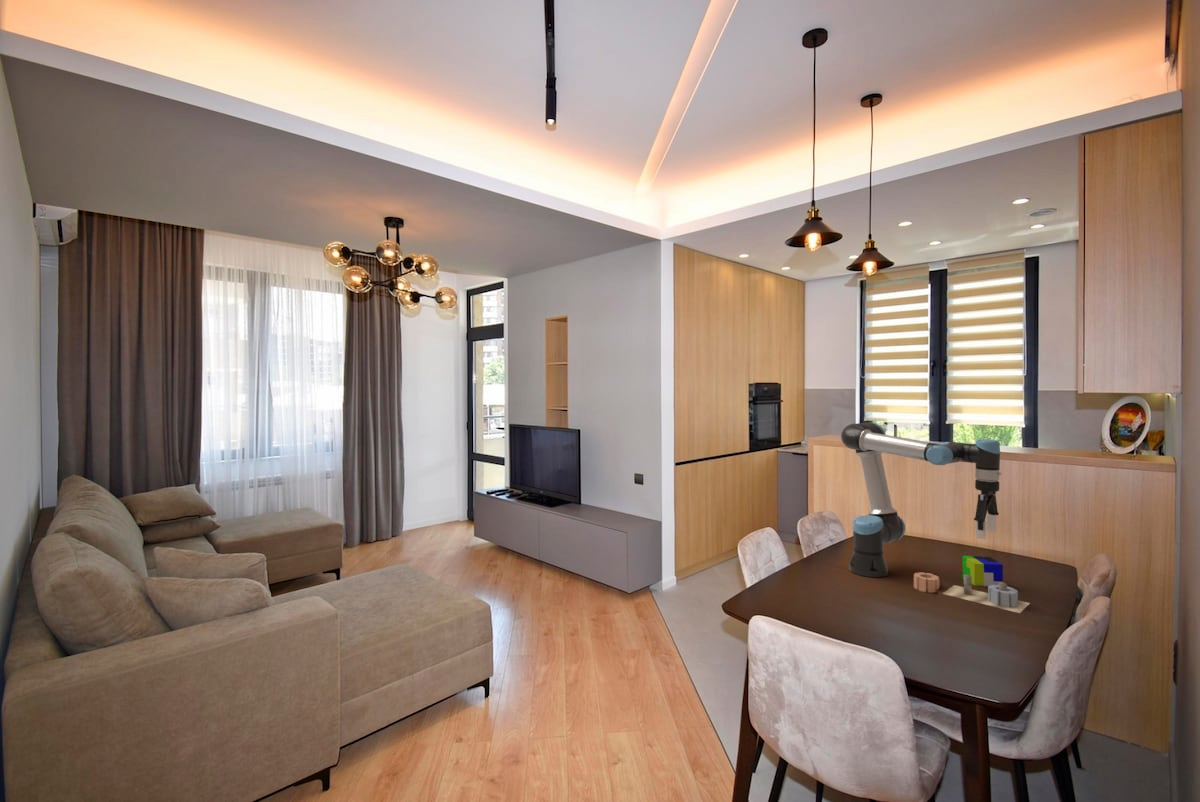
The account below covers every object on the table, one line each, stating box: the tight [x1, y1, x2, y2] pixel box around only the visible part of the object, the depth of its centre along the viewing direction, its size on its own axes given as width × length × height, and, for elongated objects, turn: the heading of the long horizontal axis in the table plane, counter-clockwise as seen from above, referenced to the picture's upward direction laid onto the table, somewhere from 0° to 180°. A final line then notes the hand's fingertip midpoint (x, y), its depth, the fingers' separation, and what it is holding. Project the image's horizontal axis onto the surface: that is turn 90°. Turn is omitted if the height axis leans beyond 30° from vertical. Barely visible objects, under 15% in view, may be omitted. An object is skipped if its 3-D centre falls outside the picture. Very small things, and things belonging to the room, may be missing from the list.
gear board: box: [941, 575, 1031, 614], centre depth 200 cm, size 24×13×8 cm, turn 39°
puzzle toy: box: [962, 555, 1004, 587], centre depth 216 cm, size 10×10×10 cm
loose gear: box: [913, 572, 940, 594], centre depth 213 cm, size 8×8×5 cm
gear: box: [987, 585, 1019, 607], centre depth 196 cm, size 8×8×5 cm
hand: (986, 534), depth 207 cm, fingers open, 13 cm apart
